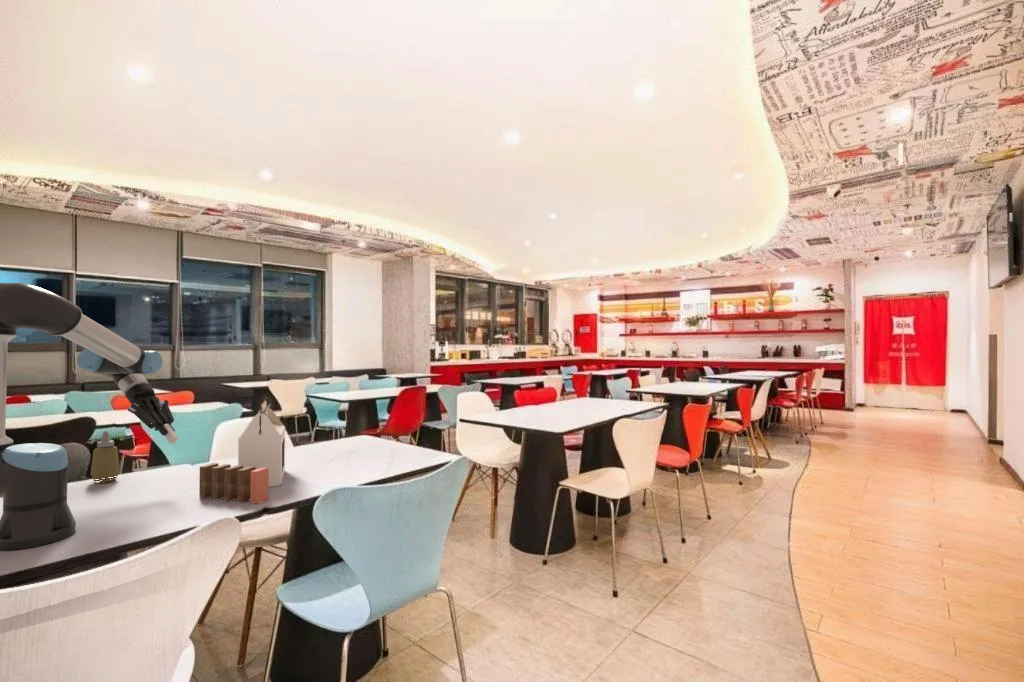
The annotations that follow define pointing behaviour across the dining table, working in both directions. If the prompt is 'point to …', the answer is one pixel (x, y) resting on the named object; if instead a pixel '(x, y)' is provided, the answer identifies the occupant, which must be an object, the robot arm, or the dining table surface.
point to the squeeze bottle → (105, 460)
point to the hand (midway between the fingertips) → (174, 440)
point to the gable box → (264, 445)
